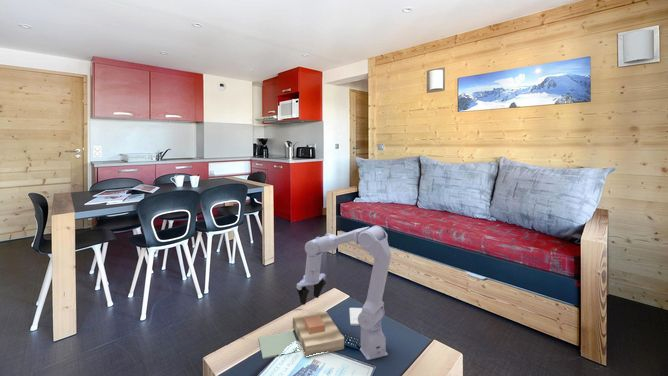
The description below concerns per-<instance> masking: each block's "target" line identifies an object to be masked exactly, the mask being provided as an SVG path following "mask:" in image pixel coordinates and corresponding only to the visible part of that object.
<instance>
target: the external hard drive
mask: <svg viewBox="0 0 668 376" xmlns="http://www.w3.org/2000/svg"><path fill="white" fill-rule="evenodd" d="M362 308H363V307H349V310H348V311H349V323H350V326H351V327H359V326H360V325H359V323H358V315H359V314H360V313H361V311H362ZM360 327H361V326H360Z"/></svg>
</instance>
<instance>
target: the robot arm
mask: <svg viewBox="0 0 668 376" xmlns="http://www.w3.org/2000/svg"><path fill="white" fill-rule="evenodd" d="M351 242H354V243H355V244H356V245H359V246H360V247H361V249H363V250H364V251H366V252H367V253H368V254H369V255H370V256H371V257H372V258H373V264H372V270H371V273H370V274H371V275H370V279H369V286H368V290H367V295H366V300H365V302H364V304H363V306H362V307H361V308H362V311H361V313H360V314H359V315H358V323H359V325H360V342H361V348H360V349H359V350H360V352H361V353H362V355H363V356H364V357H365V360H367V361H370V360H374V359H377V358H382V357H386V356H389V355H388V354H389V353H388V351H387V350H386V349H387V348H386V347H387V346H386V345H387V343H386V342H387V339H386V336H385V334H384V332H383V330H382V319H383V318H384V317H385V307H384V305H385V302H384V301H383V297H384V292H385V286H386V282H387V279H388V278H387V277H388V273H389V267H390V263H391V257H392V253H391V250H390V245H389V242H388V233H387V232H386V230H385V229H384V228H383V227H381V226H380V225H377V224H376V225H372V226H371V227H370V226H366V227H361V228H357V229H353V230H351V231H348V232H344V233H342V234H339V235H336V234H334V233H330V232H328V233H325V234H324V236H321V237H320V236H316V237H315V238H314V239H311V240H309V241H306V243H305V245H304V251H305V253H306V260H305V261H306V262H305V270H304V271H305V272H304V275H303V277H302V279H301V280H300V281H299V282H297V283H296V285H295V289H296V291H297V293H298V294H297V295H298V296H299V301H300V304H302V305H303V306H305V305H306V303H307V297H308V295H309V292H310V290H309V289H307V287H308V286H313V297H315V299H316V298H317V299H318V298H319V297H320V296H321V295H320V294H321V292H322V290H323V288H324V287H325V285H326V284H327V283H326V274H325V273H324V272H322V273H321V265H322V264H321V263H322V256H323V253H325V252H329V251H333V250H337V249H338V248H339V245H343V244H347V243H351Z"/></svg>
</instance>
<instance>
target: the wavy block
mask: <svg viewBox="0 0 668 376" xmlns="http://www.w3.org/2000/svg"><path fill="white" fill-rule="evenodd" d="M318 315H319V316H320V317H321V319H322V321H323V322H324V324H325V331H323V332H318V333H313V334H309V333H308V331H307V329H306V326H305V324H304V318H307V317H312V316H318ZM292 327H293V330H294V332H295V336H296V337H297V340H298V342H299V341H300V342H299V344H300V343H301V344H300V346H301V345H302V347H301V349H302V348H303V349H302V351H303V350H304V351H303V353H304V352H305V354H304V356H305V355H306V356H309V355H313V354H316V353H321V352H327V351H331V352H330V353H332V352H336V351H337V352H338V351H341V350H344V349H345V337H344V335H342V333H341V331H340V330H339V328H338V327H337V325H336V324H335V322H334V320H332V318H331V316H330V314H328V312H327V311H326V310H323V311H317V312H313V313H307V314H302V315H295V316H292ZM306 356H305V357H306Z"/></svg>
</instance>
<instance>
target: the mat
mask: <svg viewBox="0 0 668 376" xmlns="http://www.w3.org/2000/svg"><path fill="white" fill-rule="evenodd" d="M297 340H298V339H297V338H296V334H295V333H294V331H293V330H289V331H285V332H281V333H280V332H279V333H275V334H269V335H264V336H259V337H258V342H259V349H260V352H261V358H262V360H267V359H271V358H272V359H273V358H275V357H276V358H277V357H278V356H277V355H279V354H281V353H283V351H284V349H285V348H286V347H287V346H289V345H290V344H292V342H294V341H296V342H297V343H298V341H297ZM297 343H296V344H297ZM298 347H299V348H297V347H296V348H295V350H294V349H293V350H294V351H297V349H299V350H300V351H301V348H300V347H301V346H298Z"/></svg>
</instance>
